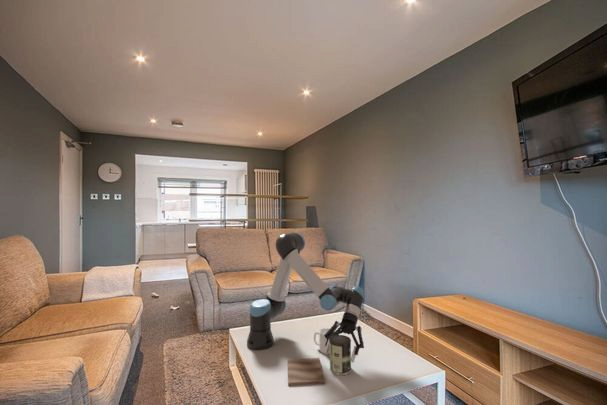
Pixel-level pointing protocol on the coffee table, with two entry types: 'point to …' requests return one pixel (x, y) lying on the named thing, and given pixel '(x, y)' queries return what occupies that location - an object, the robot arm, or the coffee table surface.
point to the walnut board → (305, 371)
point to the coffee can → (340, 354)
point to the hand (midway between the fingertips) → (338, 357)
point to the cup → (322, 339)
